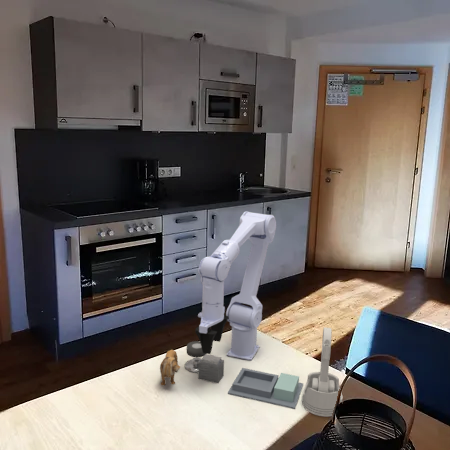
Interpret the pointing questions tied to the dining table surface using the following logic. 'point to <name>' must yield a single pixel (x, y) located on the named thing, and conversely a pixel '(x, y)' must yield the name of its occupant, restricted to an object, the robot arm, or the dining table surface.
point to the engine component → (322, 384)
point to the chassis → (267, 387)
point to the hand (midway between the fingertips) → (211, 346)
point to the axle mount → (192, 365)
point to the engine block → (211, 368)
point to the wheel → (195, 349)
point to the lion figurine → (169, 366)
